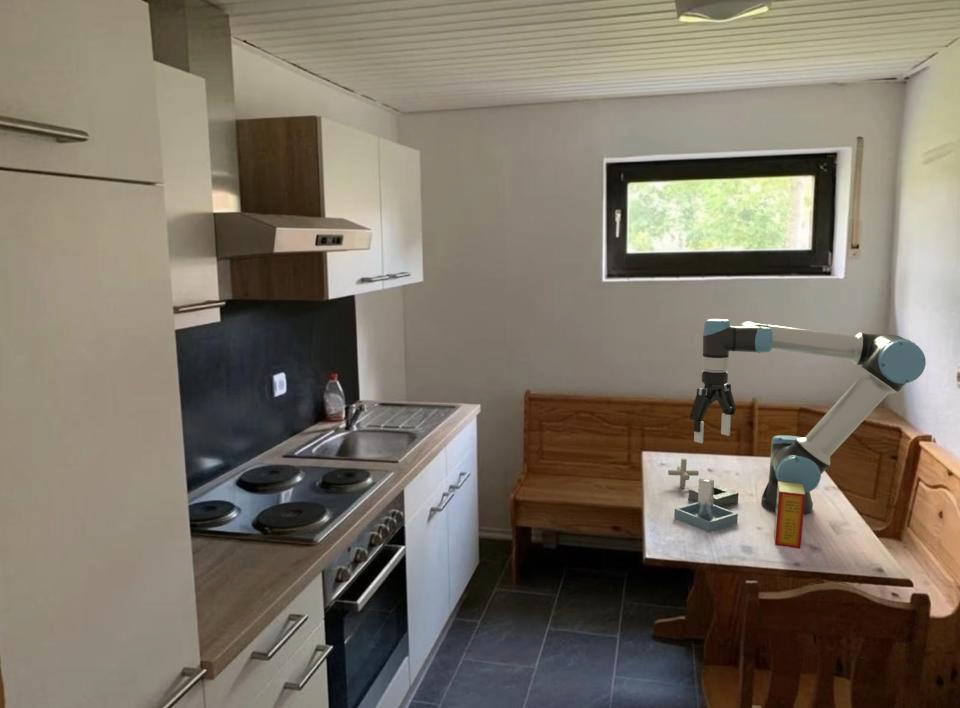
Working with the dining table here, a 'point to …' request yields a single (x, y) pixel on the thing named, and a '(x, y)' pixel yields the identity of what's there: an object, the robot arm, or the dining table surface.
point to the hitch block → (717, 496)
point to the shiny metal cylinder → (705, 498)
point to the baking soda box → (789, 514)
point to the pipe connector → (683, 472)
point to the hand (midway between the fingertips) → (712, 438)
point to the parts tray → (690, 517)
